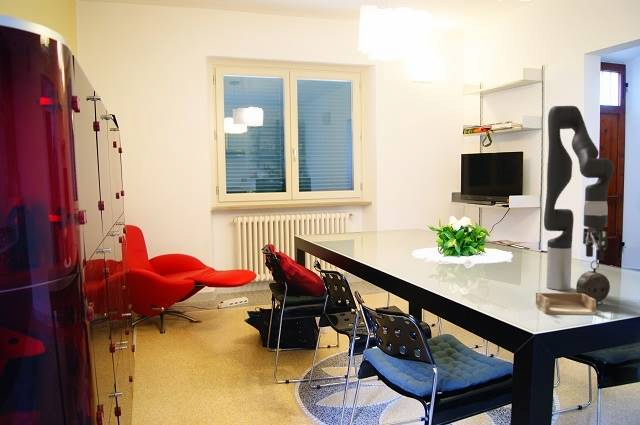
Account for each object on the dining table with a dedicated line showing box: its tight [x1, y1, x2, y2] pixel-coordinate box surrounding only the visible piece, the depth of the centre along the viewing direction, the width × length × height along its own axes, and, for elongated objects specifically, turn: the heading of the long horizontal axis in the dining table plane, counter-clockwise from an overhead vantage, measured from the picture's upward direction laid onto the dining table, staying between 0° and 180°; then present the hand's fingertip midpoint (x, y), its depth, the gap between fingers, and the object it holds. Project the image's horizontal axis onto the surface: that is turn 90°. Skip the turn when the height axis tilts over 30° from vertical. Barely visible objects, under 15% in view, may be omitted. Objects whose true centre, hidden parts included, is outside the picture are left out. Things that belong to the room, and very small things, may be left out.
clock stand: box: [535, 292, 597, 316], centre depth 176 cm, size 10×16×5 cm, turn 85°
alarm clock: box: [575, 260, 611, 307], centre depth 184 cm, size 11×5×16 cm, turn 99°
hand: (594, 258), depth 183 cm, fingers open, 8 cm apart
